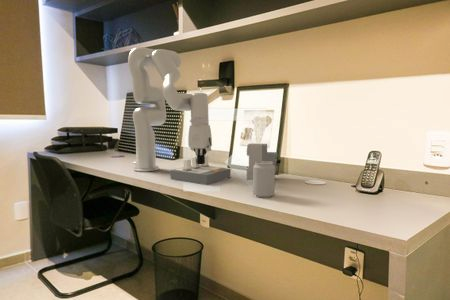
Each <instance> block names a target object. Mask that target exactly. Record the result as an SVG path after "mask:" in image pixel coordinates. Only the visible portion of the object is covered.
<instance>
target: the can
mask: <svg viewBox="0 0 450 300" xmlns="http://www.w3.org/2000/svg"><path fill="white" fill-rule="evenodd" d="M275 177H276V172H275V166H274V165H273V162H270V161H257V162H255V165H254V166H253V180H252V185H253V186H252V194H253V195H256V196H255V197H257V196H258V197H257V198H260V197H269V198H272V197H273V196H274V195H275V193H276V192H275V190H276V189H275V186H276V185H275V183H276V182H275V181H276V180H275ZM271 196H272V197H271Z"/></svg>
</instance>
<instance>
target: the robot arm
mask: <svg viewBox="0 0 450 300" xmlns="http://www.w3.org/2000/svg"><path fill="white" fill-rule="evenodd" d="M130 50H131V51H130V52H129V54H128V57H127V62H128V63H127V64H128V69H129V73H130V76H131V83H132V95H133V100H134V102H135V103H136V104H138V105H147V106H141V107H137V108H135V109H134V110H133V112H132V121H133V125H134V131H135V133H134V134H135V135H134V136H135V150H136V151H135V156H136V158H135V160H134V161H133V162H132V164H133V165H135V166H134V167H133V171H135V172H143V173H145V172H153V171H154V172H155V171H158V170H159V169H160V166H159V165H157V161H156V159H157V157H156V135H155V131H154V129H153V127H156V126H157V127H158V126H161V125H164V124H165V123H166V119H167V109H166V103H167V105H168V106H169V107H170V109H172V110H174V111H179V112H180V111H186V112H190V118H191V119H190V120H189V123H191V125H189V128H188V129H189V130H188V135H187V136H188V137H187V138H188V140H187V142H188V143H187V144H188V147H189V148H190V150H191V151H192V152H195V155H196V157H197V164H199V165H201V164H205V156H207V155H206V154H207V153H208V152H211V151H212V146H213V140H212V130H211V125H209V96H208V94H207V93H205V92H194V93H182V92H181V93H180V92H178V91H177V89H176V87H175V85H174V84H175V83H177V82H178V81H179V80H180V78H181V77H182V76H181V71H180V70H179V67H180V66H181V63H182V61H181V60H182V59H181V56H180V55H179V54H178V52H177V51H174V50H168V49H165V48H164V49H163V48H159V49H154V48H148V47H141V46H137V47H133V48H132V49H130ZM145 67H151V68H155V69H156V71H157V72H158V75H159V76H160V77H161V79H162V81H163V82H162V87H159V86H156V85H151V82H150V75H149V73H148V71H147V70H146V68H145ZM148 105H150V106H148Z"/></svg>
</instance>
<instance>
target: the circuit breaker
mask: <svg viewBox="0 0 450 300" xmlns="http://www.w3.org/2000/svg"><path fill="white" fill-rule="evenodd" d="M246 156H247V157H248V167H247V168H246V181H247V180H249V181H250V180H251V181H253V166H254V165H255V162H257V161H270V162H273V165H274V166H275V173H276V172H277V169H278V164H281V161H282V160H281V159H279V158H278V152H274V151H268V143H255V142H254V143H253V142H252V143H248V144H247V146H246Z"/></svg>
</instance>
